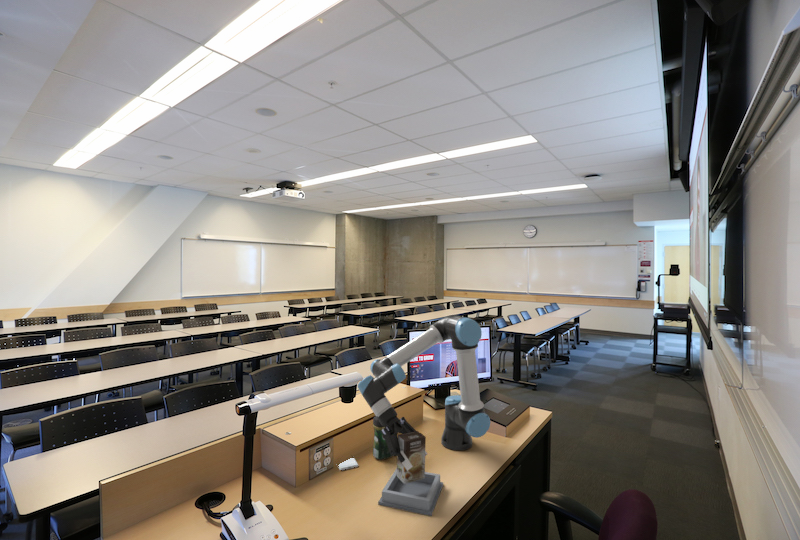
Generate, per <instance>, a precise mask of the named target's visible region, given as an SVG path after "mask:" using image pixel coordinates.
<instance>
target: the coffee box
mask: <svg viewBox="0 0 800 540" xmlns="http://www.w3.org/2000/svg"><path fill="white" fill-rule="evenodd" d="M397 437H398V442H399V446H400V452H401V451H403V452H404V454H405V455H406V457H407V458H408V460H409V461H410V463H411V464H412V466H413V467H412V468H410V469H409V470H408V471H407V470H406V468H405V467H404V465H403V464H402V463H401V462H400V460H399V459H398V457H397V456H396V459H397V460H396V468H397V477H398V478H399V479H400V480H401V481H402V482H403V483H404V484H406V483H410V482H413V481H417V480H421V479H424V478H425V472H426V456H425V451H426V437H427V436H426V435H424V434H423V433H421V432H420V431H418V430H416V431H415V432H410V433H405V434H402V433H398V434H397Z"/></svg>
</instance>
